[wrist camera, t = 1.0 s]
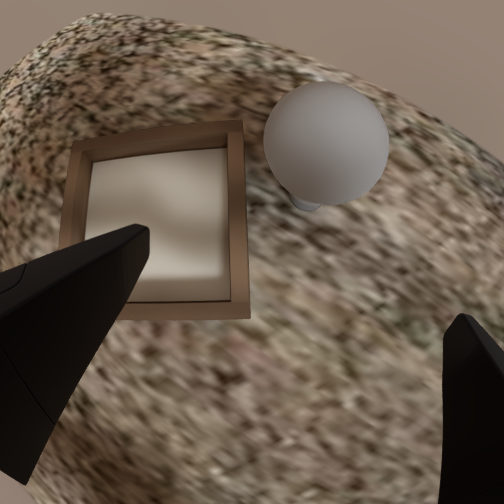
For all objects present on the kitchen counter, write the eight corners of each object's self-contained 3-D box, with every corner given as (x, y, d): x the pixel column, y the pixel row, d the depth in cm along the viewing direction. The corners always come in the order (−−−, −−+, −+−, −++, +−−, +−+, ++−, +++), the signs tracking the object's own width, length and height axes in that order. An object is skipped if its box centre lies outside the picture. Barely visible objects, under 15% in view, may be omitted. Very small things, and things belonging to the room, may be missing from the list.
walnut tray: (250, 317, 21) (249, 318, 18) (76, 317, 21) (56, 317, 19) (244, 139, 24) (242, 119, 21) (88, 157, 24) (73, 141, 21)
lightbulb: (269, 245, 22) (278, 182, 11) (256, 164, 23) (254, 59, 12) (354, 233, 22) (427, 169, 11) (336, 155, 23) (381, 57, 12)
